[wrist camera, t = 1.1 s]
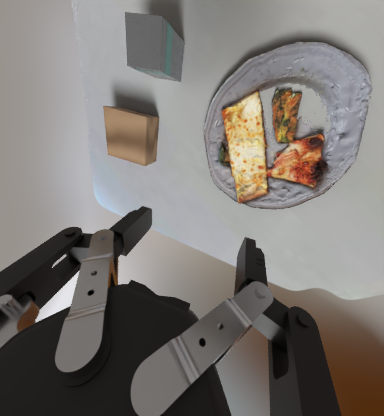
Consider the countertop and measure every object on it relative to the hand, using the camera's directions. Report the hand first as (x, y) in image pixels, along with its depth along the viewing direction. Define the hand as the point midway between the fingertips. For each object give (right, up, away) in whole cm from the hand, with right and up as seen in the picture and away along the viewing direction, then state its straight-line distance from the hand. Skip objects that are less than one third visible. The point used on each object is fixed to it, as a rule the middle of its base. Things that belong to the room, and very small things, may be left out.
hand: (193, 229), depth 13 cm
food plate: (+14, +14, +16) cm, 25 cm away
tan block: (-12, +18, +22) cm, 31 cm away
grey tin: (-4, +27, +14) cm, 31 cm away
